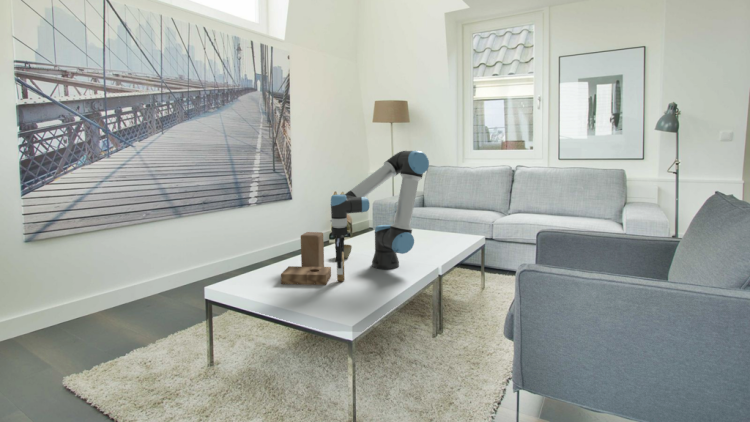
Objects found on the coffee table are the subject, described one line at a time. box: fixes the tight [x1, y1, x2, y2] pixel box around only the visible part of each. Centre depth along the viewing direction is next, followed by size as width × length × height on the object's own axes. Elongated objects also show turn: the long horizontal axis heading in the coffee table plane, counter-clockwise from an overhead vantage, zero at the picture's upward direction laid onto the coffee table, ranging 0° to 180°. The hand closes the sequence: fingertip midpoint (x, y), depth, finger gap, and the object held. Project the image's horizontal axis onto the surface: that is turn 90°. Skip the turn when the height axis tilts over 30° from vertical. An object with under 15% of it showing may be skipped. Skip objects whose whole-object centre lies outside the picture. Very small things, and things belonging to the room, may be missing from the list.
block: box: [300, 231, 325, 267], centre depth 233 cm, size 10×10×20 cm
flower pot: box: [334, 243, 353, 260], centre depth 259 cm, size 10×10×7 cm
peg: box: [336, 252, 346, 282], centre depth 213 cm, size 4×4×14 cm
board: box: [280, 265, 332, 286], centre depth 216 cm, size 22×14×5 cm, turn 86°
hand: (340, 272), depth 213 cm, fingers closed on peg, 4 cm apart
